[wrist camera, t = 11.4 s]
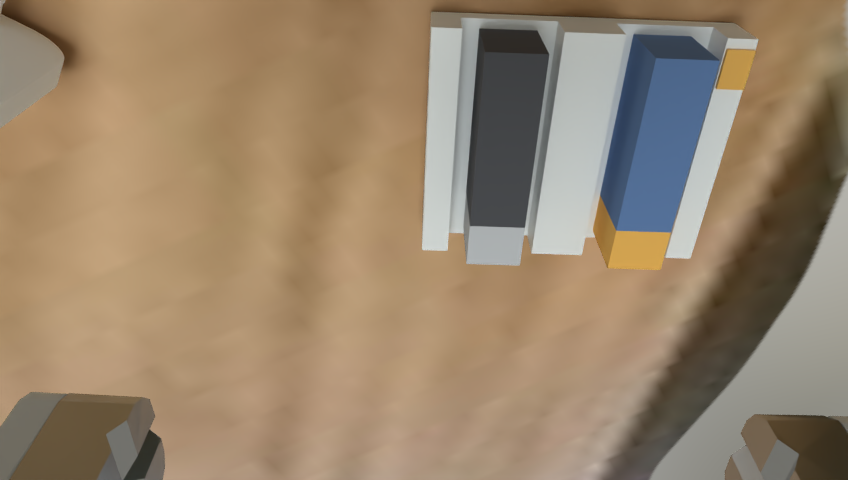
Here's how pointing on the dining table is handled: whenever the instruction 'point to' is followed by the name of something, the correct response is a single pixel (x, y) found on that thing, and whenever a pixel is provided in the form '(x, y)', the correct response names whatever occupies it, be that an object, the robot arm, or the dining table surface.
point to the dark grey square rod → (503, 143)
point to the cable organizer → (25, 67)
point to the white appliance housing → (569, 122)
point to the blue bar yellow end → (652, 147)
